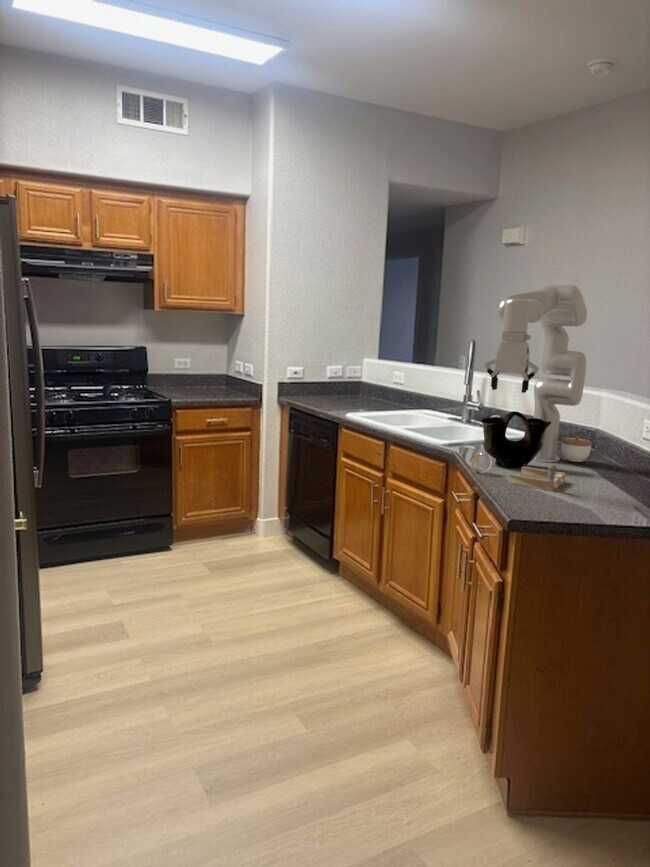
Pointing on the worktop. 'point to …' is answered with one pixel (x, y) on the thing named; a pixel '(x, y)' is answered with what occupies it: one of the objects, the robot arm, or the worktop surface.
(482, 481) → the worktop surface
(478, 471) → the ring
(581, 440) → the lidded jar
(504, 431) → the pottery vessel
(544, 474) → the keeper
